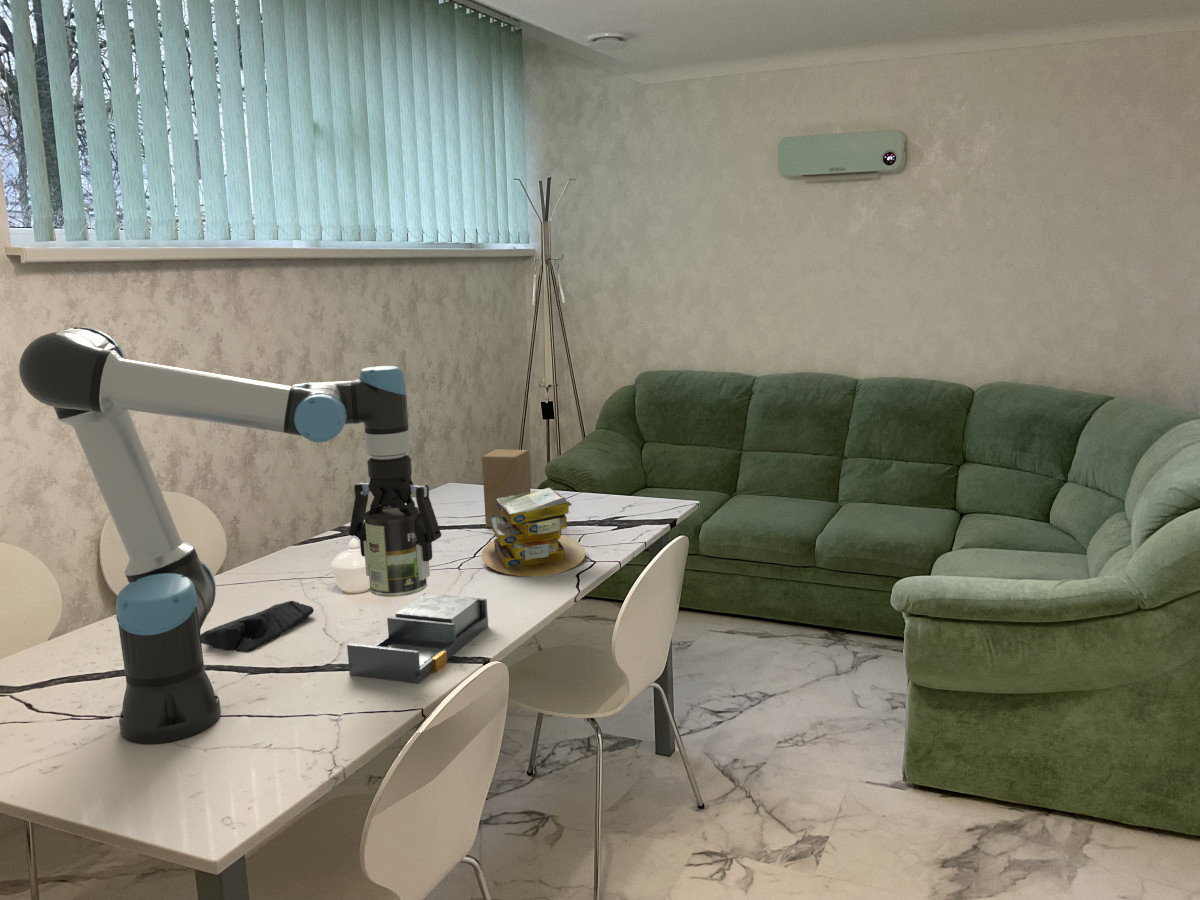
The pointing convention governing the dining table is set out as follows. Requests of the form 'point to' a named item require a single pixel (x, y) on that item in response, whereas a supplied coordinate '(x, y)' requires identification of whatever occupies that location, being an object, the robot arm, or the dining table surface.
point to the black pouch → (256, 627)
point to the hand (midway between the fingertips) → (398, 575)
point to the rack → (420, 638)
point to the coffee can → (392, 553)
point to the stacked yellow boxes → (532, 536)
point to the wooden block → (504, 478)
